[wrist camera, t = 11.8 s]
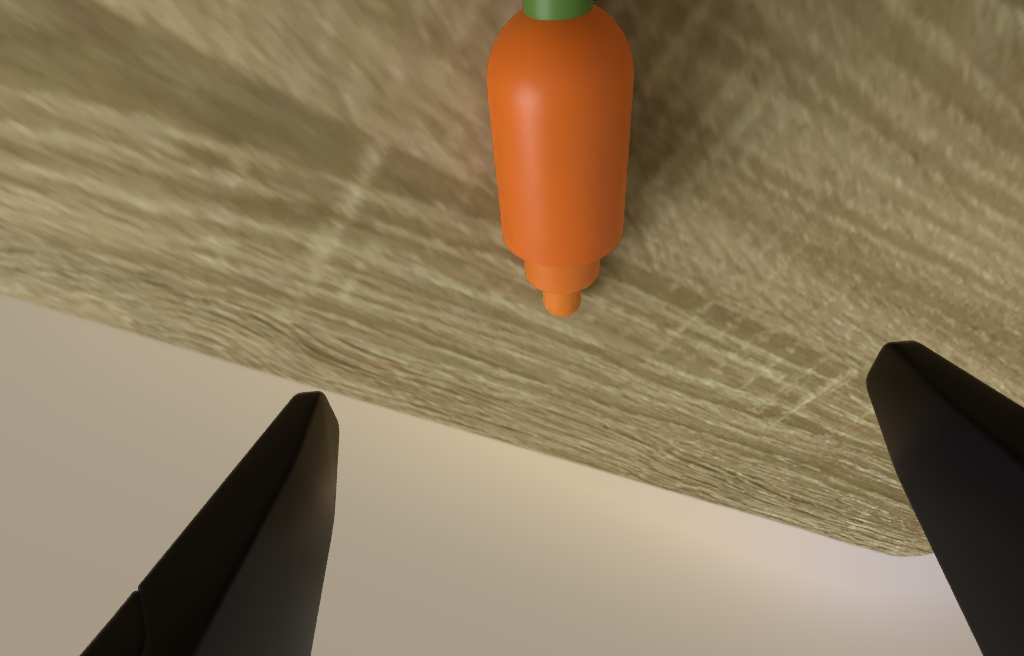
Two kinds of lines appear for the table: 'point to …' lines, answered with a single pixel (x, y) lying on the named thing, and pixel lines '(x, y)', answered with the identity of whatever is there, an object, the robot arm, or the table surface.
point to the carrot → (561, 141)
